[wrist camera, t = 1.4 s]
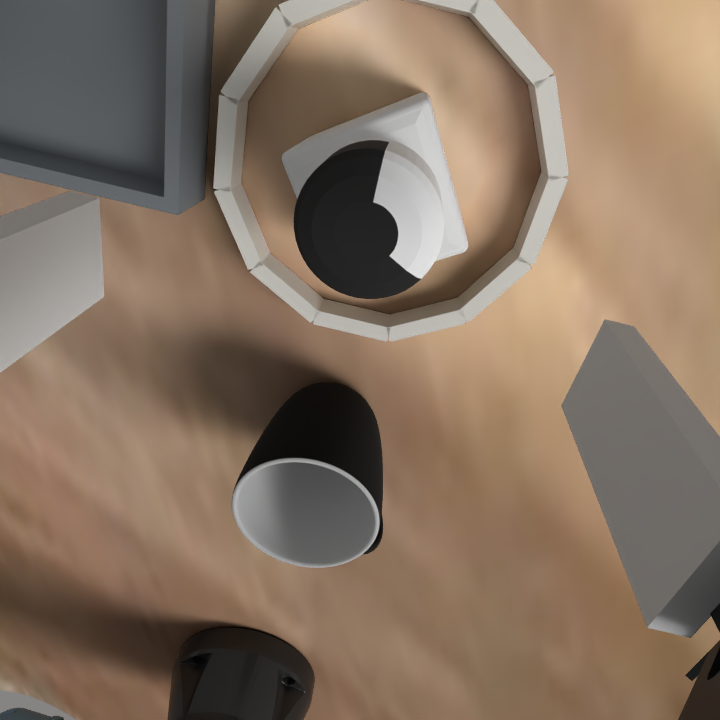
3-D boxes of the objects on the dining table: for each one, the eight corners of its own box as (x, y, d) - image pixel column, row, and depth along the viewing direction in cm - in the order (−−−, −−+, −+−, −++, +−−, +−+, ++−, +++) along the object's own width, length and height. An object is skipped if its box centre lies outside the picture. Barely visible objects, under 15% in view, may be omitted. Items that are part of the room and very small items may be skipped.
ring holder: (490, 352, 35) (493, 366, 34) (217, 287, 35) (206, 298, 33) (615, 27, 26) (629, 24, 24) (243, -64, 26) (229, -74, 24)
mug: (249, 397, 39) (199, 492, 31) (348, 345, 36) (324, 434, 28) (337, 502, 44) (315, 612, 35) (431, 464, 41) (433, 573, 32)
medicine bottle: (350, 251, 33) (316, 336, 23) (307, 136, 30) (244, 174, 20) (461, 215, 31) (479, 290, 21) (427, 89, 28) (429, 102, 18)
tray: (204, 199, 32) (178, 215, 29) (-11, 147, 32) (-63, 157, 29) (219, -78, 26) (187, -100, 22) (-53, -144, 25) (-128, -177, 22)
